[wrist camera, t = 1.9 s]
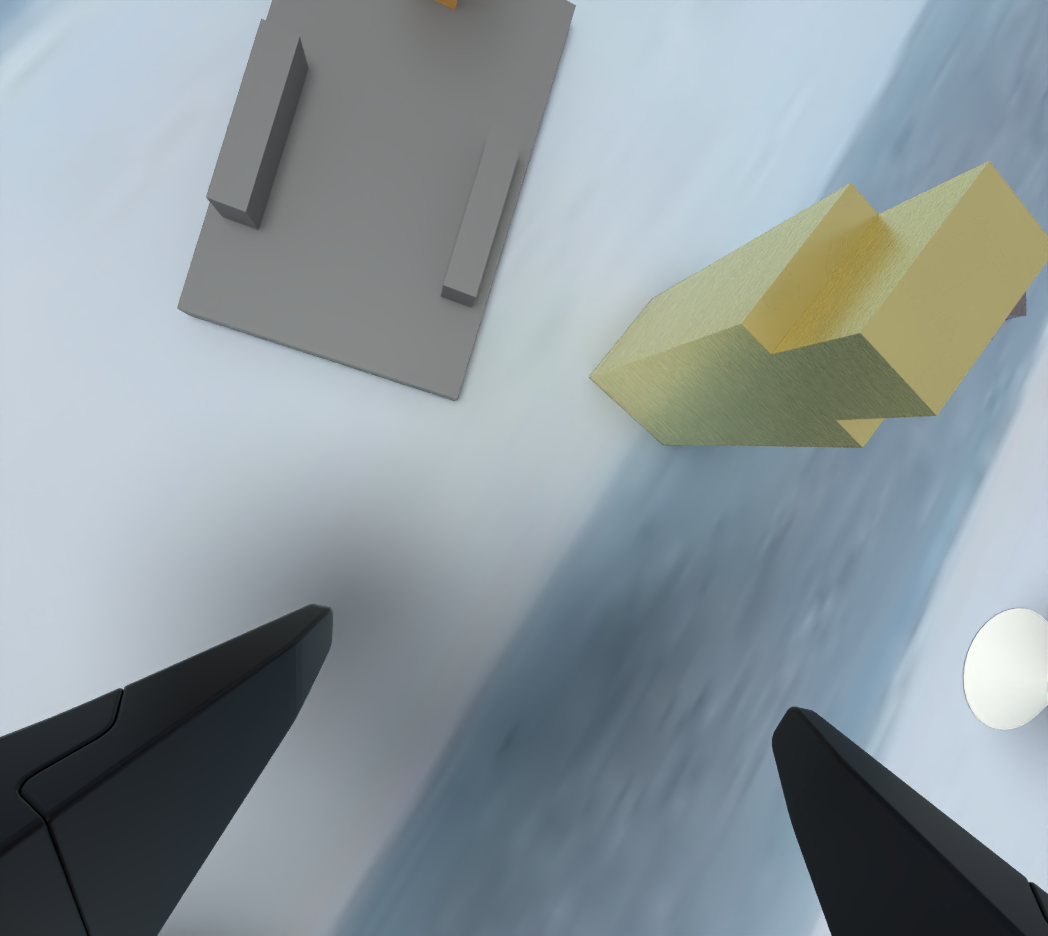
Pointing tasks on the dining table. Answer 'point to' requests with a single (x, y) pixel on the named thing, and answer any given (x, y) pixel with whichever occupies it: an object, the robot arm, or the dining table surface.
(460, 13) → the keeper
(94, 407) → the dining table surface
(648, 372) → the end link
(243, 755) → the robot arm
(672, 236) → the dining table surface
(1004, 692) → the champagne flute
